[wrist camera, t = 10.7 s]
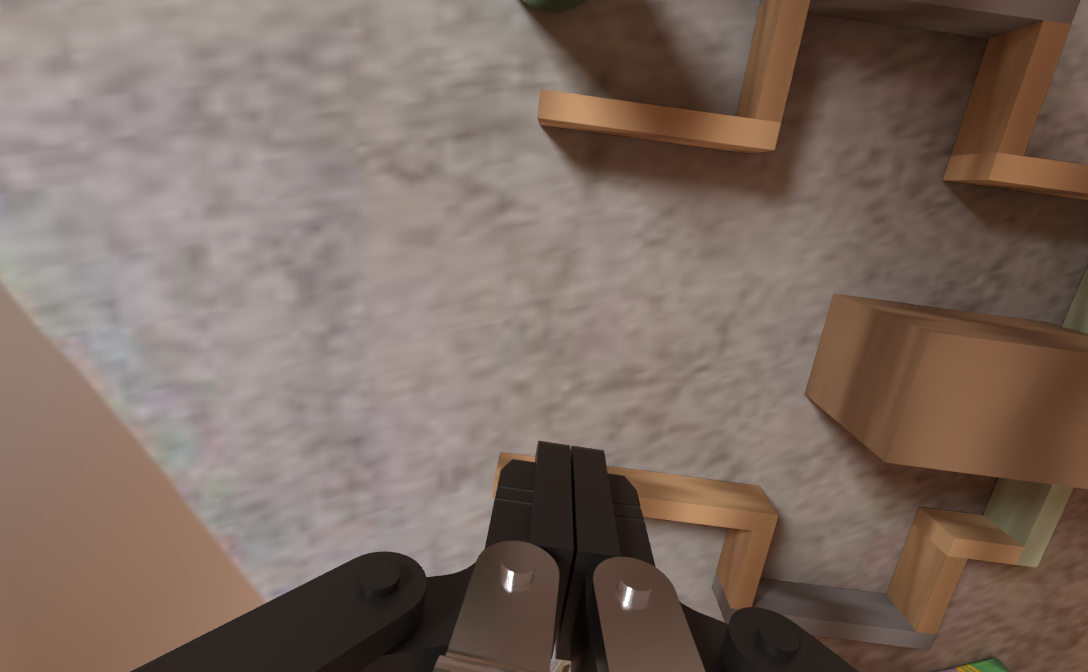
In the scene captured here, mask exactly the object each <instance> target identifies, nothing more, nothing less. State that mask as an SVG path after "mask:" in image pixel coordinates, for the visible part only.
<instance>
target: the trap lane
mask: <svg viewBox="0 0 1088 672" xmlns="http://www.w3.org/2000/svg"><path fill="white" fill-rule="evenodd" d="M1079 2H1080V0H761V3H760V8H759V12H758V17H757V21H756V26H755V31H754V35H753V40H752V45H751V49H750V54H749V59H748V63H747V68H746V72H745V77H744V82H743V86H742V91H741V96H740V100H739V105H738V110H737V114H736V116H730V115H723V114H715V113H708V112H701V111H694V110H686V109H679V108H672V107H665V106H658V105H650V104H643V103H636V102H629V101H621V100H614V99H607V98H600V97H592V96H585V95H578V94H571V93H564V92H556V91H549V90H542V89H541V92H540V100H539V109H538V117H537V118H538V121H539V124H540V125H545V126H552V127H559V128H567V129H574V130H581V131H588V132H596V133H603V134H610V135H617V136H625V137H632V138H639V139H647V140H654V141H661V142H668V143H676V144H683V145H690V146H697V147H705V148H712V149H719V150H726V151H734V152H741V153H748V154H755V153H761V152H767V151H774V150H775V146H776V142H777V138H778V134H779V130H780V125H781V121H782V117H783V113H784V109H785V105H786V100H787V96H788V92H789V88H790V84H791V79H792V75H793V71H794V67H795V63H796V58H797V54H798V50H799V46H800V42H801V37H802V33H803V29H804V25H805V21H806V16H807V13H810V14H817V15H824V16H831V17H838V18H845V19H852V20H859V21H867V22H874V23H881V24H888V25H895V26H902V27H909V28H916V29H923V30H930V31H938V32H945V33H952V34H959V35H966V36H973V37H980V38H987V39H989V40H988V43H987V46H986V49H985V52H984V55H983V58H982V61H981V65H980V68H979V71H978V74H977V77H976V80H975V83H974V86H973V89H972V92H971V95H970V98H969V101H968V104H967V107H966V110H965V113H964V117H963V120H962V123H961V126H960V129H959V132H958V135H957V138H956V141H955V144H954V147H953V150H952V153H951V156H950V159H949V162H948V165H947V169H946V172H945V175H944V178H943V180H945V181H952V182H959V183H966V184H974V185H981V186H988V187H995V188H1003V189H1010V190H1017V191H1024V192H1032V193H1039V194H1046V195H1054V196H1061V197H1068V198H1075V199H1083V200H1088V165H1084V164H1077V163H1069V162H1062V161H1055V160H1048V159H1041V158H1033V157H1026V156H1024V153H1025V150H1026V147H1027V145H1028V142H1029V139H1030V136H1031V134H1032V131H1033V128H1034V125H1035V123H1036V120H1037V117H1038V114H1039V112H1040V109H1041V106H1042V103H1043V101H1044V98H1045V95H1046V92H1047V90H1048V87H1049V84H1050V81H1051V79H1052V76H1053V73H1054V70H1055V68H1056V65H1057V62H1058V59H1059V57H1060V54H1061V51H1062V48H1063V46H1064V43H1065V40H1066V37H1067V35H1068V32H1069V29H1070V26H1071V24H1072V21H1073V18H1074V15H1075V13H1076V10H1077V7H1078V4H1079ZM1062 327H1065V328H1068V329H1072V330H1075V331H1079V332H1082V333H1086V334H1088V265H1087V268H1086V270H1085V272H1084V275H1083V277H1082V280H1081V282H1080V284H1079V287H1078V289H1077V292H1076V294H1075V296H1074V299H1073V301H1072V303H1071V306H1070V308H1069V311H1068V313H1067V315H1066V318H1065V320H1064V323H1063V325H1062ZM512 459H516V460H523V461H530V462H535V457H534V456H526V455H518V454H511V453H503V452H500V456H499V461H498V465H497V470H496V475H495V480H494V488H493V497H495V496H496V491H497V486H498V481H499V476H500V471H501V469H502V468H503V467H504V466H505V465H507V464H508V463H509V462H510V461H511V460H512ZM607 472H608V473H610V474H617V475H623V476H625V477H626V478H627V479H628V481H629V482H630V483H631V484H632V485H633V486H634V488H635V489H636V490H637V493H638V497H639V501H640V505H641V507H640V509H642V514H643V517H650V518H657V519H665V520H673V521H681V522H688V523H696V524H704V525H711V526H719V527H727V528H728V530H727V533H726V537H725V541H724V545H723V548H722V552H721V556H720V560H719V563H718V567H717V571H716V575H715V579H714V582H713V586H712V589H713V592H714V594H715V597H716V599H717V602H718V605H719V607H720V610H721V612H722V615H723V618H724V620H725V623H726V624H728V623H729V620H730V618H731V616H732V614H733V613H735V612H736V611H737V610H739V609H741V608H746V607H759V608H764V609H768V610H771V611H774V612H777V613H779V614H781V615H783V616H785V617H787V618H788V619H790V620H792V621H793V622H795V623H796V624H797V625H799V626H800V627H801V628H803V629H804V630H805V631H806V632H808V633H809V634H810V635H813V636H821V637H829V638H837V639H845V640H853V641H861V642H868V643H876V644H884V645H892V646H900V647H908V648H916V649H923V650H930V647H931V645H932V643H933V640H934V638H935V635H936V633H937V631H938V628H939V626H940V624H941V621H942V619H943V616H944V614H945V612H946V609H947V607H948V605H949V602H950V600H951V597H952V595H953V593H954V590H955V588H956V585H957V583H958V581H959V578H960V576H961V574H962V571H963V569H964V566H965V564H966V562H967V559H974V560H982V561H990V562H998V563H1005V564H1013V565H1021V566H1029V567H1036V568H1037V566H1038V564H1039V562H1040V560H1041V558H1042V555H1043V553H1044V551H1045V549H1046V547H1047V545H1048V543H1049V540H1050V538H1051V536H1052V534H1053V532H1054V530H1055V528H1056V525H1057V523H1058V521H1059V519H1060V517H1061V515H1062V513H1063V510H1064V508H1065V506H1066V504H1067V502H1068V500H1069V497H1070V495H1071V493H1072V491H1073V489H1074V487H1067V486H1060V485H1052V484H1044V483H1037V482H1029V481H1022V480H1014V479H1007V478H998V480H997V483H996V485H995V488H994V490H993V492H992V495H991V497H990V500H989V502H988V504H987V507H986V509H985V511H984V514H983V515H979V514H971V513H963V512H956V511H948V510H940V509H933V508H925V507H919V509H918V511H917V514H916V517H915V519H914V522H913V525H912V527H911V530H910V533H909V535H908V538H907V541H906V543H905V546H904V548H903V551H902V554H901V556H900V559H899V562H898V564H897V567H896V570H895V572H894V575H893V578H892V580H891V583H890V586H889V588H888V591H887V593H886V594H879V593H872V592H864V591H856V590H848V589H840V588H833V587H825V586H817V585H809V584H802V583H794V582H786V581H778V580H770V579H763V578H760V577H761V573H762V570H763V567H764V563H765V560H766V556H767V553H768V550H769V546H770V543H771V539H772V536H773V533H774V529H775V526H776V522H777V519H778V516H779V515H778V514H777V512H776V511H775V509H774V508H773V506H772V505H771V503H770V502H769V500H768V499H767V497H766V496H765V494H764V493H763V491H762V490H761V488H760V487H759V486H756V485H748V484H741V483H733V482H725V481H718V480H710V479H702V478H695V477H687V476H679V475H672V474H664V473H656V472H649V471H641V470H633V469H626V468H618V467H610V466H607Z"/></svg>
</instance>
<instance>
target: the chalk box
mask: <svg viewBox="0 0 1088 672" xmlns="http://www.w3.org/2000/svg"><path fill="white" fill-rule="evenodd" d="M938 672H1010V671H1009V670H1008V669H1007V668H1006V667H1005V666H1004V665H1003V664H1002V662H1001V661H1000V660H999V659H998V658H996V657H994V658H991V659H988V660H984V661H980V662H976V663H971V664H967V665H963V666H958V667H955V668H951V669H947V670H942V671H938Z"/></svg>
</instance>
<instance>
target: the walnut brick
mask: <svg viewBox="0 0 1088 672" xmlns="http://www.w3.org/2000/svg"><path fill="white" fill-rule="evenodd" d="M805 395H806V396H807V397H809V398H810V399H811V400H812V401H813V402H815V403H816V404H817V405H818V406H819V407H820V408H822V409H823V410H824V411H825V412H826V413H827V414H829V415H830V416H831V417H832V418H833V419H835V420H836V421H837V422H838V423H839V424H840V425H842V426H843V427H844V428H845V429H846V430H847V431H849V432H850V433H851V434H852V435H853V436H855V437H856V438H857V439H858V440H859V441H860V442H862V443H863V444H864V445H865V446H866V447H867V448H869V449H870V450H871V451H872V452H873V453H875V454H876V455H877V456H878V457H879V458H880V459H882V460H883V461H884V462H885V463H893V464H900V465H908V466H916V467H923V468H931V469H938V470H946V471H953V472H961V473H969V474H976V475H984V476H991V477H999V478H1007V479H1014V480H1022V481H1029V482H1037V483H1044V484H1052V485H1060V486H1067V487H1075V488H1082V489H1088V334H1086V333H1082V332H1079V331H1075V330H1072V329H1068V328H1065V327H1061V326H1058V325H1054V324H1051V323H1047V322H1039V321H1032V320H1025V319H1017V318H1010V317H1003V316H995V315H988V314H980V313H973V312H966V311H958V310H951V309H943V308H936V307H929V306H921V305H914V304H907V303H899V302H892V301H884V300H877V299H870V298H862V297H855V296H847V295H840V294H833V297H832V301H831V304H830V308H829V311H828V315H827V318H826V322H825V325H824V329H823V332H822V335H821V339H820V342H819V346H818V349H817V353H816V356H815V360H814V363H813V367H812V370H811V374H810V377H809V380H808V384H807V387H806V391H805Z"/></svg>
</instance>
